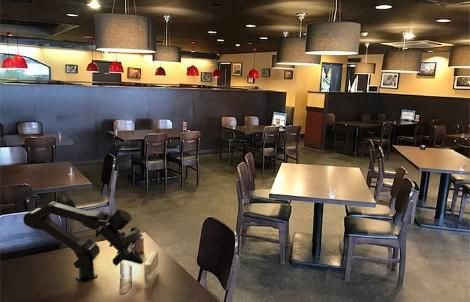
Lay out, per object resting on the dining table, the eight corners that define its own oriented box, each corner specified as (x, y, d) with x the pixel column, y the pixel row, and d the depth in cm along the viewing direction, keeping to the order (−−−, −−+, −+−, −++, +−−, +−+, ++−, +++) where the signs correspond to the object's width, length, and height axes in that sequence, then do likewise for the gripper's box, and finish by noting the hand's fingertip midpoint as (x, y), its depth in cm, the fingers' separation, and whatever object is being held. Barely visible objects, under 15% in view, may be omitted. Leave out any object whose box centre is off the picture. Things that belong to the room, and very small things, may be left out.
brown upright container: (126, 253, 173) (126, 233, 172) (130, 250, 177) (129, 230, 175) (142, 255, 171) (141, 235, 170) (145, 252, 175) (145, 232, 173)
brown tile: (144, 287, 145) (143, 264, 143) (152, 272, 156) (152, 250, 155) (150, 288, 144) (150, 264, 143) (158, 272, 156) (158, 250, 154)
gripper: (119, 233, 137) (149, 261, 139) (134, 215, 156) (161, 240, 157) (99, 252, 139) (129, 279, 140) (117, 232, 157) (143, 257, 159)
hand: (142, 263), depth 149 cm, fingers closed
